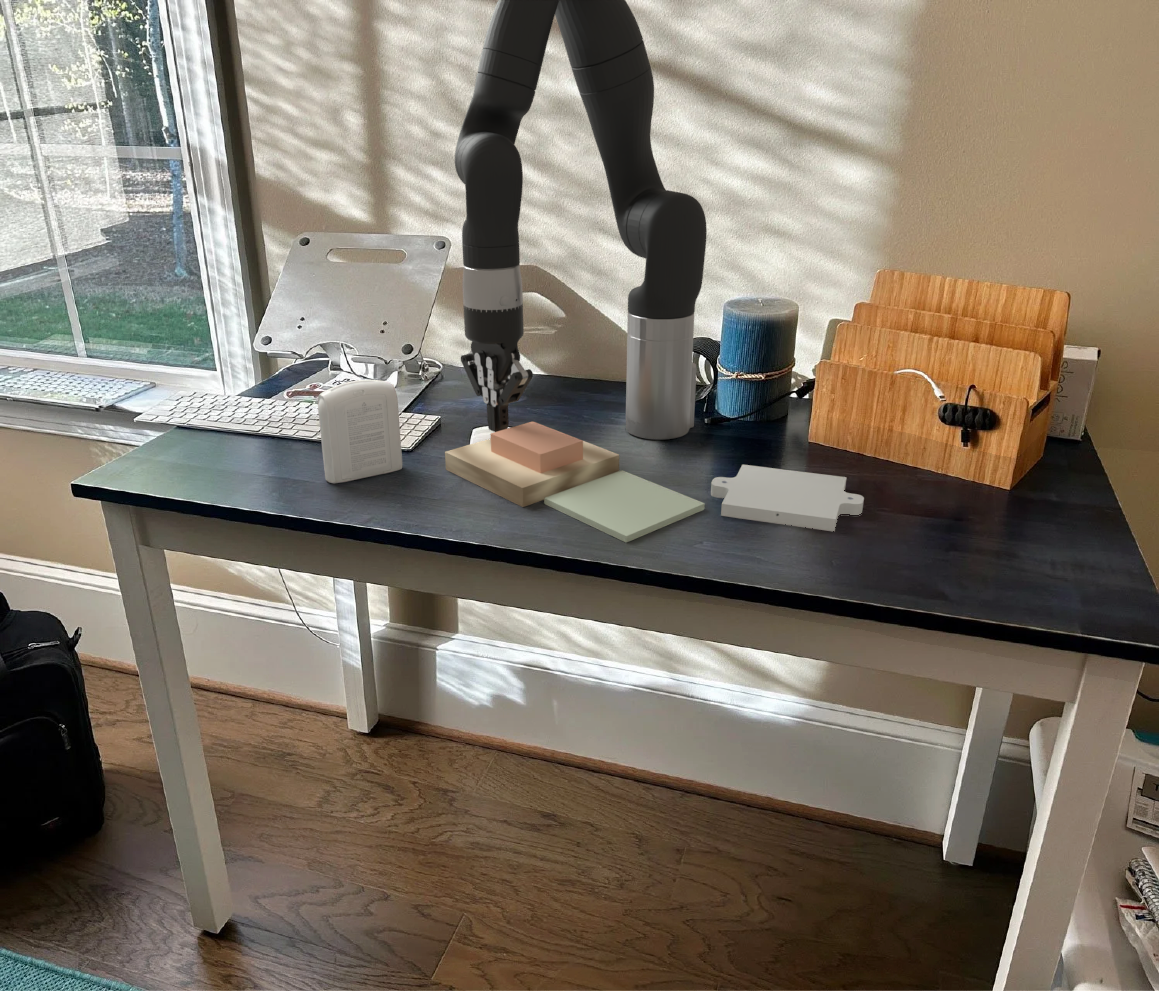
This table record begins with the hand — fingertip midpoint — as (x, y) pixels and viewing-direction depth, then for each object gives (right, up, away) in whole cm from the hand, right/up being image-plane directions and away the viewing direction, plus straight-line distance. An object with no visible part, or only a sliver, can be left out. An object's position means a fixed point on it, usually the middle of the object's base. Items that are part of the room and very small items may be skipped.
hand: (498, 430), depth 127 cm
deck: (+5, -6, -3) cm, 8 cm away
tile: (+5, -4, -5) cm, 8 cm away
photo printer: (-17, -6, -4) cm, 18 cm away
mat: (+16, -10, -14) cm, 23 cm away
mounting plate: (+36, -10, -12) cm, 39 cm away
